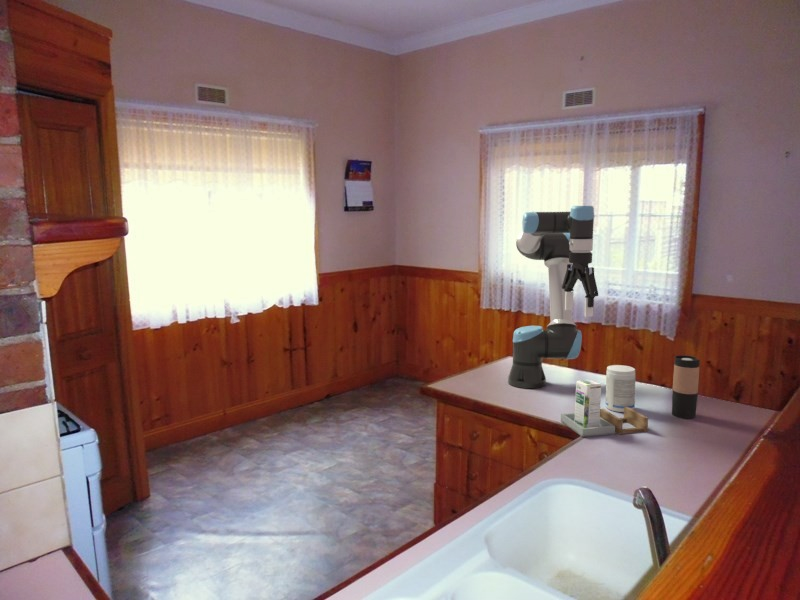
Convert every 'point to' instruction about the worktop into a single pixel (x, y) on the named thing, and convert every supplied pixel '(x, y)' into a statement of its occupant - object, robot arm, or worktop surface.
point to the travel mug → (685, 386)
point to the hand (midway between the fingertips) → (578, 313)
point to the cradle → (630, 417)
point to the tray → (586, 432)
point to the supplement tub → (620, 387)
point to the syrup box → (587, 403)
